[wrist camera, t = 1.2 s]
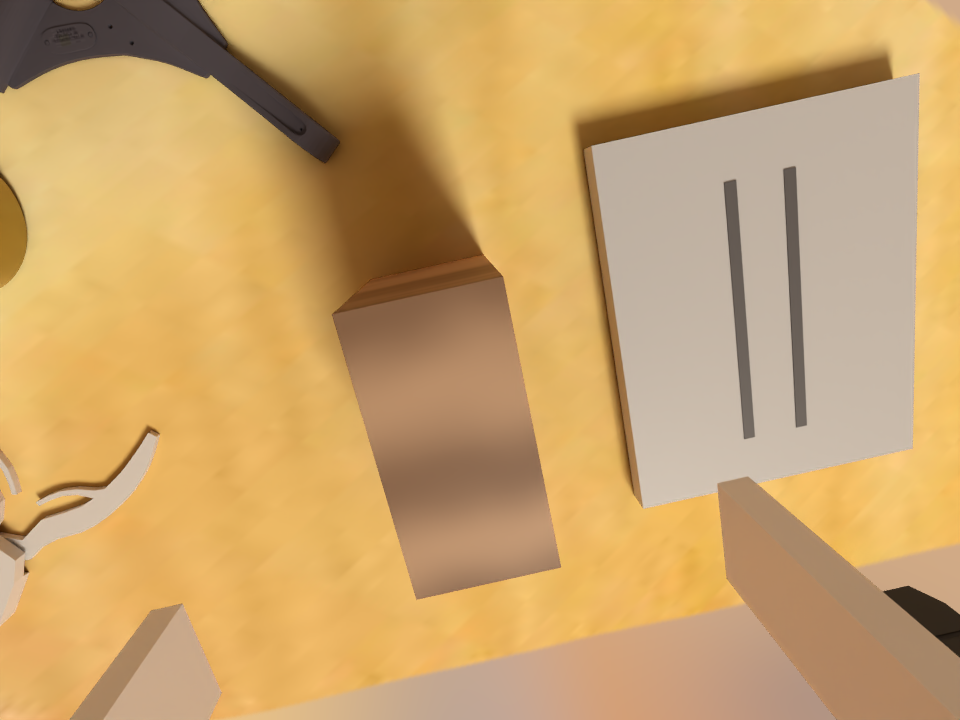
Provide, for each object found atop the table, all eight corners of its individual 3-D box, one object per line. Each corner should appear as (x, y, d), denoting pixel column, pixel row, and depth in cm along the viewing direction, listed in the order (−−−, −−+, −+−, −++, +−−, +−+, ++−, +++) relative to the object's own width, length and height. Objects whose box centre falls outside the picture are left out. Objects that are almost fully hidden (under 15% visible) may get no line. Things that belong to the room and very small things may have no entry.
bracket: (259, 269, 28) (240, 275, 25) (-20, 72, 25) (-77, 55, 22) (423, 29, 25) (420, 7, 23) (136, -224, 22) (94, -284, 20)
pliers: (152, 445, 28) (53, 651, 31) (167, 433, 30) (71, 630, 33) (-42, 356, 26) (-128, 584, 29) (-15, 348, 28) (-99, 565, 31)
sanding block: (371, 279, 28) (332, 314, 18) (483, 254, 28) (503, 276, 18) (425, 479, 31) (416, 599, 21) (525, 457, 31) (561, 567, 21)
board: (583, 149, 27) (591, 145, 25) (893, 80, 27) (920, 73, 25) (634, 495, 32) (643, 509, 31) (891, 437, 32) (913, 449, 31)
